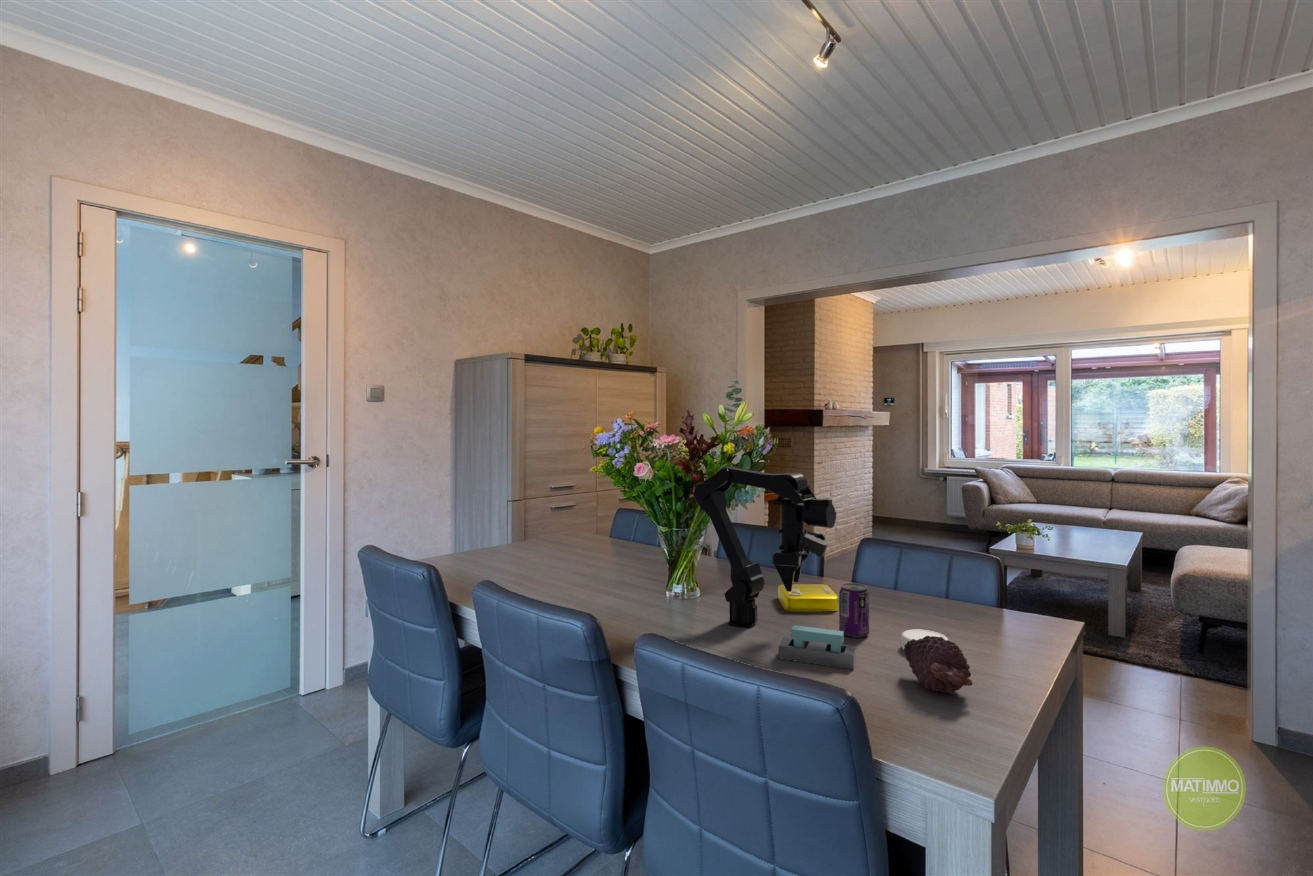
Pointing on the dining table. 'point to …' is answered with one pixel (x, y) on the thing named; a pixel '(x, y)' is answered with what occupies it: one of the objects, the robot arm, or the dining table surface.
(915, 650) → the pine cone
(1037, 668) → the dining table surface
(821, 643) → the grey slotted base block
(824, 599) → the element tile
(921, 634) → the coaster
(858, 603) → the beverage can
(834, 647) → the clip
